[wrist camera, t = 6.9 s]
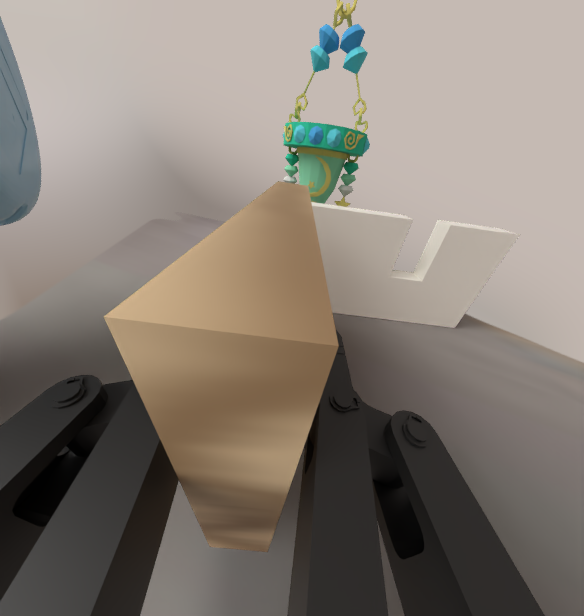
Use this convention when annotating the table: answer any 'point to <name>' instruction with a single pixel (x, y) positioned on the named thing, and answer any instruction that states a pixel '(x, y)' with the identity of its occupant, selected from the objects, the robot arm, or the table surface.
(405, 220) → the cream slotted board
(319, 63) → the hanging basket ornament
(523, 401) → the table surface
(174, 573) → the table surface
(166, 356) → the tan faceted tapered block
